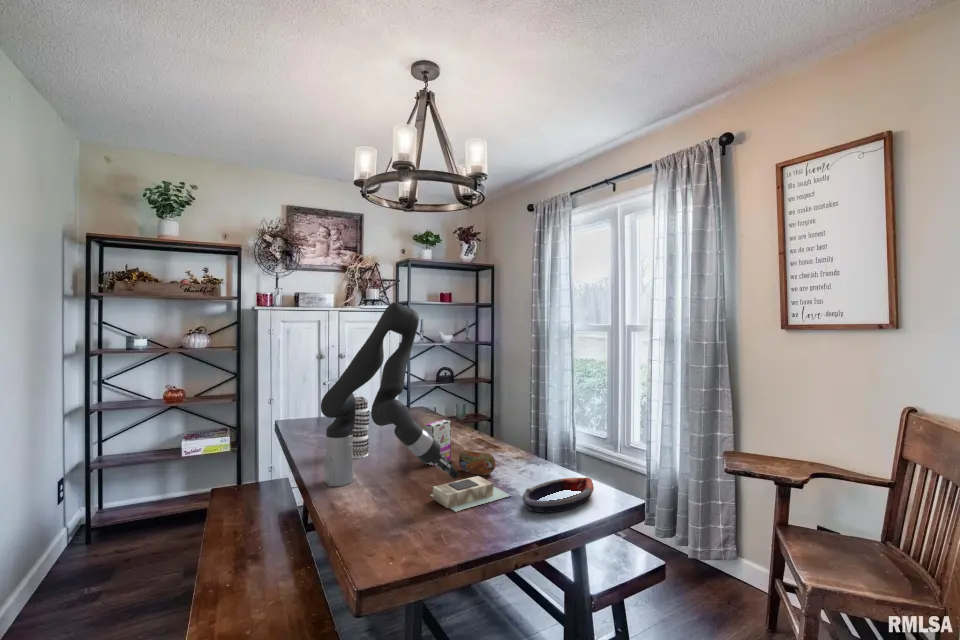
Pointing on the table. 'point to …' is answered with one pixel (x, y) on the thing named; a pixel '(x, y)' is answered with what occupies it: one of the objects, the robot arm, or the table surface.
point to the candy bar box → (441, 436)
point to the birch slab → (462, 491)
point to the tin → (477, 462)
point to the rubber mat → (481, 500)
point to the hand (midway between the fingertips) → (455, 476)
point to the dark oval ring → (556, 486)
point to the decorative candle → (361, 428)
